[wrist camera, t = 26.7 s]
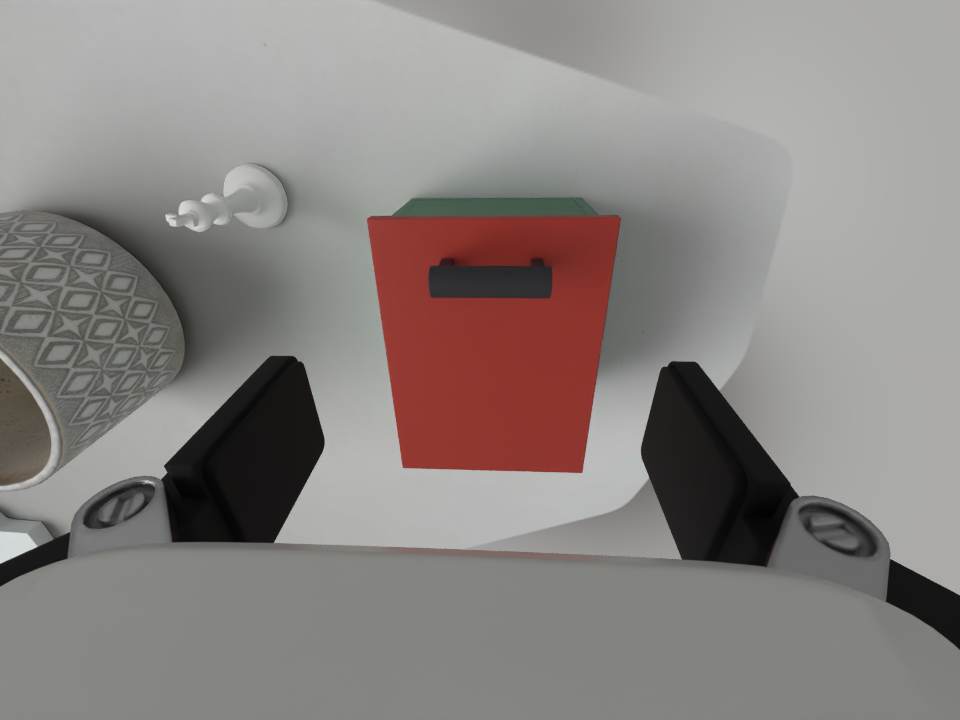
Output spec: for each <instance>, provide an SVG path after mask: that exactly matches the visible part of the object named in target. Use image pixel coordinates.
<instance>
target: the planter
mask: <svg viewBox="0 0 960 720" xmlns="http://www.w3.org/2000/svg"><path fill="white" fill-rule="evenodd" d="M184 355H185V340H184V334H183V329H182V326H181V323H180V320H179V317H178V314H177V312H176V310H175V308H174V306H173V304H172V302H171V300H170V299H169V297H168V296H167V294H166V293H165V291H164V290H163V288H162V287H161V285H160V284H159V283H158V282H157V280H156V279H155V278H154V277H153V276H152V275H151V273H150V272H149V271H148V270H147V269H146V268H145V267H144V266H143V265H142V264H141V263H140V262H139V261H138V260H137V259H136V258H135V257H133V256H132V255H131V254H130V253H129V252H127V251H126V250H125V249H123V248H122V247H121V246H120V245H118V244H117V243H116V242H114V241H113V240H111V239H109V238H108V237H106V236H105V235H103V234H101V233H100V232H98V231H96V230H94V229H92V228H90V227H88V226H86V225H84V224H82V223H80V222H77V221H74V220H72V219H69V218H66V217H63V216H60V215H56V214H51V213H46V212H42V211H26V210H22V211H13V212H6V213H0V492H5V491H17V490H22V489H27V488H30V487H33V486H35V485H38V484H40V483H42V482H43V481H45V480H46V479H48V478H49V477H50V476H52V475H53V474H54V473H56V472H57V471H58V470H59V469H61V468H62V467H63V466H65V465H66V464H67V463H68V462H70V461H71V460H72V459H74V458H75V457H76V456H77V455H79V454H80V453H81V452H83V451H84V450H85V449H86V448H88V447H89V446H90V445H92V444H93V443H94V442H95V441H97V440H98V439H99V438H100V437H102V436H103V435H104V434H106V433H107V432H108V431H109V430H111V429H112V428H113V427H115V426H116V425H117V424H118V423H120V422H121V421H122V420H124V419H125V418H126V417H127V416H129V415H130V414H131V413H133V412H134V411H135V410H136V409H138V408H139V407H140V406H141V405H143V404H144V403H145V402H147V401H148V400H149V399H150V398H152V397H153V396H154V395H156V394H157V393H158V392H159V391H161V390H162V389H163V388H165V387H166V386H167V385H168V384H170V383H171V382H172V380H173V379H174V378H175V377H176V376H177V374H178V372H179V370H180V368H181V366H182V364H183V359H184Z"/></svg>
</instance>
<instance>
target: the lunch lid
mask: <svg viewBox="0 0 960 720" xmlns="http://www.w3.org/2000/svg"><path fill="white" fill-rule="evenodd" d="M620 221H621V218H620V217H619V216H618V215H516V216H371V217H369V218H368V219H367V223H368V230H369V237H370V244H371V251H372V258H373V265H374V272H375V278H376V285H377V292H378V299H379V306H380V313H381V320H382V327H383V334H384V341H385V347H386V354H387V361H388V368H389V375H390V382H391V389H392V396H393V403H394V410H395V417H396V423H397V430H398V437H399V444H400V451H401V458H402V465H403V468H423V469H460V470H496V471H533V472H570V473H582V471H583V464H584V457H585V451H586V444H587V438H588V431H589V425H590V418H591V411H592V405H593V398H594V392H595V385H596V378H597V372H598V365H599V359H600V352H601V346H602V339H603V332H604V326H605V319H606V313H607V306H608V299H609V293H610V286H611V280H612V273H613V267H614V260H615V253H616V247H617V240H618V234H619V227H620Z"/></svg>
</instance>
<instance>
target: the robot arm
mask: <svg viewBox="0 0 960 720" xmlns="http://www.w3.org/2000/svg"><path fill="white" fill-rule="evenodd" d="M324 443H325V441H324V435H323V432H322V428H321V424H320V421H319V417H318V414H317V410H316V406H315V403H314V399H313V395H312V392H311V388H310V385H309V381H308V377H307V374H306V370H305V367H304V364H303V363H302V362H298V360H297V359H296V357H294V356H270V357H269V358H268V359H267V360H266V361H265V362H264V363H263V364H262V365H261V366H260V367H259V368H258V369H257V370H256V371H255V372H254V373H253V374H252V375H251V376H250V377H249V378H248V379H247V380H246V381H245V382H244V383H243V385H242V386H241V387H240V388H239V389H238V390H237V391H236V392H235V393H234V394H233V395H232V396H231V397H230V398H229V399H228V400H227V401H226V402H225V403H224V404H223V405H222V406H221V407H220V408H219V409H218V410H217V411H216V413H215V414H214V415H213V416H212V417H211V418H210V419H209V420H208V421H207V422H206V423H205V424H204V425H203V426H202V427H201V428H200V429H199V430H198V431H197V432H196V433H195V434H194V435H193V436H192V437H191V438H190V439H189V440H188V442H187V443H186V444H185V445H184V446H183V447H182V448H181V449H180V450H179V451H178V452H177V453H176V454H175V455H174V456H173V457H172V458H171V459H170V460H169V461H168V462H167V463H166V464H165V465H164V467H165V469H166V471H167V472H168V473H167V474H166V475H165V476H164V477H163V478H162V479H161V480H160V479H158V478H156V477H152V476H140V477H133V478H129V479H126V480H123V481H120V482H117V483H115V484H113V485H111V486H109V487H107V488H105V489H103V490H102V491H100V492H98V493H97V494H95V495H94V496H92V497H91V498H90V499H89V500H88V501H87V502H85V503H84V504H83V505H82V506H81V507H80V509H79V510H78V511H77V512H76V514H75V515H74V518H73V521H72V523H71V532H69V533H67V534H65V535H63V536H60V537H58V538H56V539H54V540H51V541H49V542H47V543H45V544H43V545H40V546H38V547H36V548H34V549H32V550H29V551H27V552H25V553H23V554H21V555H18V556H16V557H14V558H12V559H9V560H7V561H5V562H3V563H1V564H0V720H960V595H958V594H956V593H954V592H952V591H950V590H948V589H947V588H945V587H942V586H941V585H939V584H937V583H935V582H933V581H931V580H929V579H927V578H926V577H924V576H922V575H920V574H918V573H916V572H914V571H912V570H910V569H908V568H906V567H904V566H902V565H901V564H899V563H897V562H895V561H893V560H891V559H890V548H889V543H888V542H887V540H886V538H885V537H884V535H883V534H882V532H881V531H880V530H879V529H878V528H877V527H876V526H875V525H874V524H873V523H872V522H871V521H870V520H868V519H867V518H866V517H864V516H863V515H861V514H860V513H859V512H857V511H855V510H853V509H852V508H850V507H848V506H846V505H844V504H842V503H839V502H836V501H833V500H831V499H828V498H823V497H818V496H801V497H799V496H798V495H797V493H796V492H795V491H794V489H793V488H792V487H791V485H790V482H789V481H788V480H787V478H786V477H785V476H784V475H783V473H782V472H781V471H780V469H779V468H778V467H777V465H776V464H775V463H774V462H773V460H772V459H771V458H770V456H769V455H768V454H767V453H766V451H765V450H764V449H763V447H762V446H761V445H760V443H759V442H758V441H757V440H756V438H755V437H754V436H753V434H752V433H751V432H750V430H748V428H747V427H746V426H745V424H744V423H743V421H742V420H741V419H740V418H739V416H738V415H737V414H736V413H735V411H734V410H733V408H732V407H731V406H730V405H729V403H728V402H727V401H726V399H725V398H724V397H723V396H722V394H721V393H720V392H719V390H718V389H717V388H716V386H715V385H714V384H713V383H712V381H711V380H710V379H709V377H708V376H707V375H706V373H705V372H704V371H703V370H702V368H701V367H700V366H699V364H698V363H696V362H676V361H672V362H670V363H669V365H668V367H663V368H662V369H661V371H660V374H659V378H658V382H657V386H656V390H655V394H654V398H653V402H652V406H651V410H650V414H649V418H648V422H647V426H646V430H645V434H644V438H643V442H642V446H641V455H642V460H643V462H644V465H645V468H646V470H647V473H648V475H649V478H650V480H651V482H652V485H653V488H654V490H655V493H656V495H657V497H658V500H659V502H660V505H661V508H662V510H663V513H664V515H665V518H666V520H667V523H668V525H669V528H670V530H671V533H672V535H673V538H674V540H675V542H676V545H677V548H678V550H679V553H680V555H681V558H682V560H679V559H663V558H646V557H626V556H603V555H580V554H557V553H534V552H510V551H509V552H508V551H485V550H483V551H482V550H459V549H432V548H405V547H378V546H347V545H316V544H285V543H274V541H275V539H276V537H277V536H278V534H279V532H280V530H281V528H282V526H283V524H284V523H285V521H286V519H287V517H288V515H289V513H290V511H291V510H292V508H293V506H294V504H295V502H296V500H297V498H298V496H299V495H300V493H301V491H302V489H303V487H304V485H305V483H306V482H307V480H308V478H309V476H310V474H311V472H312V470H313V469H314V467H315V465H316V463H317V461H318V459H319V457H320V456H321V454H322V452H323V449H324Z"/></svg>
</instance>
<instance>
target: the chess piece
mask: <svg viewBox="0 0 960 720" xmlns="http://www.w3.org/2000/svg"><path fill="white" fill-rule="evenodd" d="M223 192H224V197H225V198H223V197H222V196H220V195H218V194H214V193H209V194H206V195H205V196H204V197H203V198H202V199H201V202H200V201H196V200H186V201H183V202H182V203H181V204H180V206H179V215H177V214H172V213H169V214H165V215H166V221H167V222H169V224H170V226H174V227H179V226H182V225H186V226H187V227H188V228H189V229H191V230H193V231H196V232H204V231H206V230H208V229H209V228H210V227H211V225H212V223H213V224H216V225H226V224H228V223H229V222H230V221H231V219H232V214H234V215H235V216H236V217H237V218H238V219H239V220H240V221H242V222H243V223H245V224H247V225H249V226H251V227H254V228H261V229H263V228H271V227H274V226H276V225H278V224H279V223H280V222H281V221H282V220H283V219H284V217H285V215H286V213H287V208H288V202H287V196H286V193H285V190H284V188H283V186H282V184H281V183H280V181H279V180H278V179H277V178H276V177H275V176H274V175H273V174H272V173H271V172H270V171H268V170H267V169H265V168H263V167H261V166H258V165H255V164H243V165H240V166H238V167H236V168H234V169H232V170H231V171H230V172H229V173H228V174H227V176H226V178H225V180H224V185H223Z"/></svg>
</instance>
